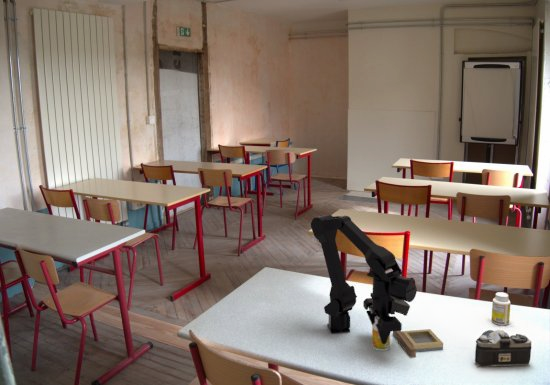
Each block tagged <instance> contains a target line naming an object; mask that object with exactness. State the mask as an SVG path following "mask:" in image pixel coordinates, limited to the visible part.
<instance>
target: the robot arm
mask: <svg viewBox="0 0 550 385" xmlns="http://www.w3.org/2000/svg"><path fill="white" fill-rule="evenodd" d="M310 228H311V230H312V233H313V235H314V238H315V239H316V240H317V241H318V242H319V243H320V245H321V250H322V253H323V257H324V261H325V264H326V269H327V272H328V276H329V281H330V283H331V286H330V290H329V302H328V303H327V304H326V305H325V306H324V307H323V310H324V313H325V314H326V315H328V322H327V324H326V325H327V327H328V330H329V332H330V333H331V334H340V333H341V334H342V333H351V330H350V329H351V315H350V314H349V312H350V311H352V310H353V307H354V306H355V305H356V303H357V298H358V296H357V294H356V290H355V287H354V285H350V284H349V283H348V282H347V281H346V277H345V274H344V273H345V272H344V270H343V264H342V261H341V256H340V252H339V250H338V245H337V241H336V238H337V233H338V231H340V232H341V233H342V234H343V235H344V236H345V237H346V238H347V239H348V240H349V241H350V242H351V243H352V244H353V246H355V248H357V249H358V251H360V252H361V254H362V255H363V256H364V259H365V263H366V264H367V265H368V267H369V268H370V269H371V270H370V271H369V272H368V273H366V276H367V277H370V278H372V292H370V297H369V298H365V299H364V300H363V303H362V304H363V307H362V308H364V310H365V311H366V314H367V316H368V319H369V321H370V323H371V327H372V326H373V324H374V323H375V317H376V316H378V318H380V319H379V320H378V324H376V327H377V330H378V333H379V336H380V339H381V342H382V344H386V342H387V340H388V337H389V334H390V335H391V332H393V331H402V328H403V323H402V322H401V321H400V320H399V319H398V318H397V317H396V316H390V315H395V313H397V314H401V315H403V316H404V317H405V316H408V313H409V311H410V308H411V305H410V304H409V303H412V301H414V299H416V298H415V297H416V295H417V293H418V292H417V286H416V284H415V283H414V282H413V281H414V279H413V278H412V277H406V276H403V271H402V269H401V268H400V266H399V263H398V262H397V260H396V256H395V254H394V252H391V251H390V250H389V249H387V248H386V247H383V246H381V245H379V244H377V243H375V242H374V241H373V240H372V239H371V238H370V237H369V236H368V235H367V234H366V233H365V232H364V231H363V230H361V228H360V227H359V226H357V225H356V223H355V222H353V220H352V218H351V217H350V216H349V215H342V216H341V215H336V216H333V215H331V214H324V215H320V216H315V217H314V218H312V219H311V222H310ZM390 270H391V271H390ZM387 271H389V272H387Z"/></svg>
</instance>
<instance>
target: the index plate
mask: <svg viewBox="0 0 550 385" xmlns="http://www.w3.org/2000/svg"><path fill="white" fill-rule="evenodd" d="M401 331H402V330H401ZM402 333H403V334H404V335H405V336H406V338H407V339H408V340H409V341H410V343H411V344H412V345H413V346H414V347H415V349H416V353H421V352H431V351H443V350H444V342H443V341H442V340H441V339H440V338H439V337H438V336H437V335H436V334H435V333H434V331H432V329H430V328H428V329H416V330H415V329H414V330H413V329H412V330H403V331H402Z"/></svg>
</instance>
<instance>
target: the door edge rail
mask: <svg viewBox="0 0 550 385" xmlns="http://www.w3.org/2000/svg"><path fill="white" fill-rule="evenodd" d="M392 335H393V336H394V338H395V339H396V340H397V342H398V343H399V344H400V346H401V347H402V348H403V349H404V351H405V352H406V353H407V355H408V356H409V357H410V358H416V357H417V356H416V355H417V354H416V353H417V352H416V349H415V347H414V346H413V345H412V344H411V343H410V341H409V340H408V339H407V338H406V336H405V335H404V334H403V333H402V330H401V331H392Z"/></svg>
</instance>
